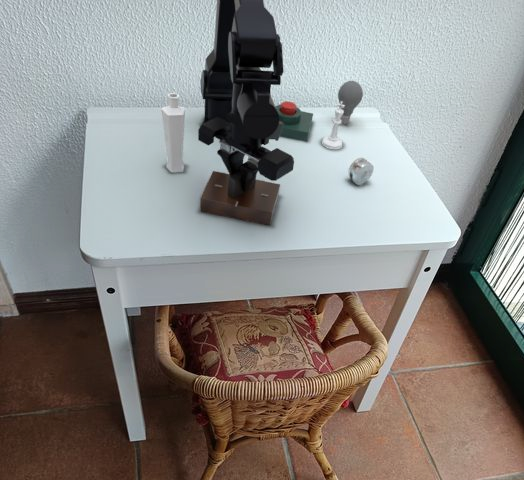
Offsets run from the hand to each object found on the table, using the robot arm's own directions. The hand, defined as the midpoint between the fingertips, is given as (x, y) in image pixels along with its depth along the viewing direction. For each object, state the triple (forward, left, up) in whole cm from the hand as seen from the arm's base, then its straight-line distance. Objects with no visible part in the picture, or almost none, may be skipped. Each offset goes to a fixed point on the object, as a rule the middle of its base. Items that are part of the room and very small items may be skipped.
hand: (241, 188), depth 95 cm
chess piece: (+16, +31, -4) cm, 35 cm away
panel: (0, 0, -4) cm, 4 cm away
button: (+4, +35, 0) cm, 35 cm away
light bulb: (+18, +43, -4) cm, 47 cm away
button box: (+4, +35, -4) cm, 36 cm away
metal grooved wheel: (+23, +17, -4) cm, 29 cm away
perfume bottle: (-16, +8, -4) cm, 18 cm away
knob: (0, 0, 0) cm, 0 cm away
